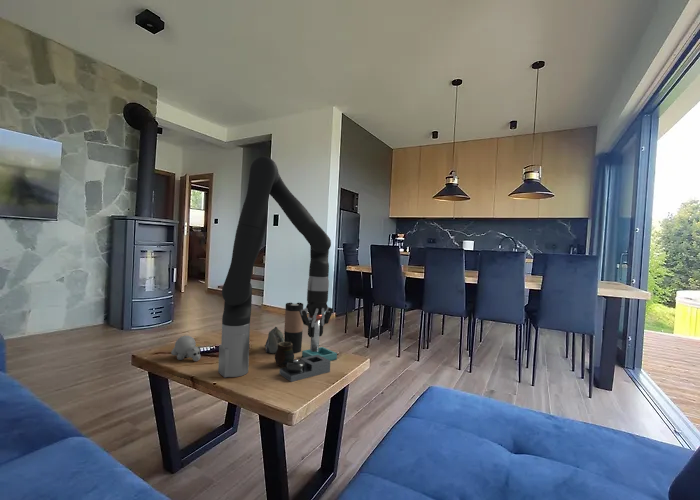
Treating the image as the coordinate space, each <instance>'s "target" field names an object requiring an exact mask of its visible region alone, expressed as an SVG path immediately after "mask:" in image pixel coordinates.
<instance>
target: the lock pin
mask: <svg viewBox="0 0 700 500" xmlns="http://www.w3.org/2000/svg"><path fill="white" fill-rule="evenodd" d="M311 318H313V317H312V316H311ZM320 318H322V315H321V314H320V315H316V321H315V323H314V337H313V338H311V337H310V351H312V352H317V351H319V347H320V336H319V335H320Z"/></svg>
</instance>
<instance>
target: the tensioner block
mask: <svg viewBox="0 0 700 500" xmlns="http://www.w3.org/2000/svg"><path fill="white" fill-rule="evenodd" d="M278 372H279V375H280V376H281V377H283V378H285V379H286V380H288V381H289V382H291V383H292V382H296V381H300V380H303V379H308V378H311V377H315V376H318V375H323V374H327V373H331V361H330V360H328V359H326V358H324V357H322V356H320V355H314V356H309V357H304V358H303V357H300V358H299V359H298V358H294V360H291V361H288V362H287V367H280V368H279V371H278Z"/></svg>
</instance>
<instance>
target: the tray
mask: <svg viewBox="0 0 700 500" xmlns="http://www.w3.org/2000/svg"><path fill="white" fill-rule="evenodd" d="M314 355H320V356H322V357H324V358H326V359H328V360H330V362H331V361H336V360H337V359H338V353H337V352H335V351H333V350H331V349H329V348H327V347H324V346H319V351H317V352H312V351H310V349H305V350H301V358H304V357H309V356H314Z"/></svg>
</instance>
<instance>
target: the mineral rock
mask: <svg viewBox="0 0 700 500" xmlns="http://www.w3.org/2000/svg"><path fill="white" fill-rule="evenodd" d="M280 342H284V333H283V332H282V331H281V330H280V329H279V328H278V326H274V328H272V329H271V330H270V331H269V332H268V335H267V339H266V341H265V344H264V347H265V348H264V349H265V353H267V354H275V353H276V351H277V349H278V343H280Z"/></svg>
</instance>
